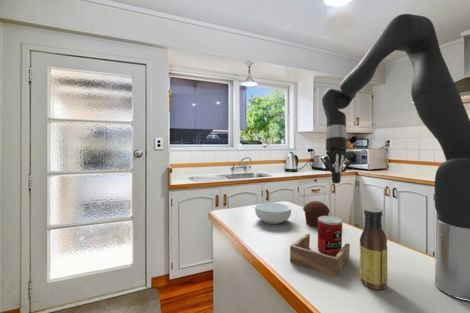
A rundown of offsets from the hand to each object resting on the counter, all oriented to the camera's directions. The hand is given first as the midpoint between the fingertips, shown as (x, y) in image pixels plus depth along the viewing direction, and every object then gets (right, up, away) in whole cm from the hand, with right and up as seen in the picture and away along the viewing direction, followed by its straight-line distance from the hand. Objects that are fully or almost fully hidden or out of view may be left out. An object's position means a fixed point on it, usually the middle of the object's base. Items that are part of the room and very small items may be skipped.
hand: (336, 183), depth 90 cm
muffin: (-1, -21, +20) cm, 29 cm away
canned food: (-5, -23, -7) cm, 24 cm away
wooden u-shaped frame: (-11, -23, -14) cm, 29 cm away
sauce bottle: (-2, -24, -27) cm, 36 cm away
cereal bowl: (-20, -21, +23) cm, 37 cm away
